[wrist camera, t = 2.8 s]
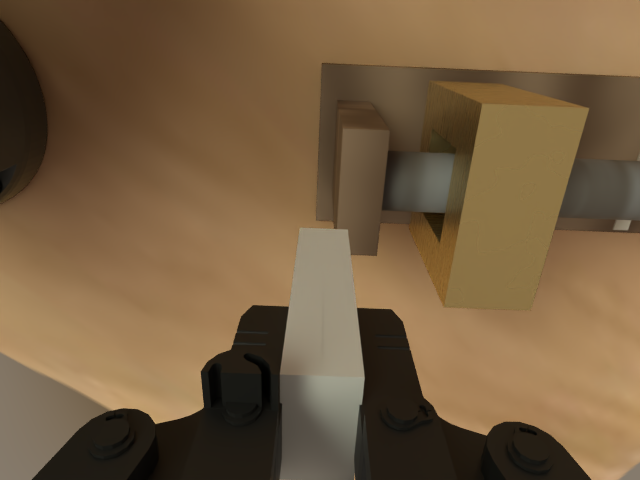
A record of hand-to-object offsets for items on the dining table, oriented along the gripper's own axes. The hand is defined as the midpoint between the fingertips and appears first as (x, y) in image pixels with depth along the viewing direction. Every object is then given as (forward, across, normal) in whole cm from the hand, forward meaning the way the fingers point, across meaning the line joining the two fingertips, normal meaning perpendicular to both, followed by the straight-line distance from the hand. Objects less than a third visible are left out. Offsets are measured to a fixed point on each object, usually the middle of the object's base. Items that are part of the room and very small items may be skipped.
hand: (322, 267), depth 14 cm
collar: (+14, +8, 0) cm, 16 cm away
